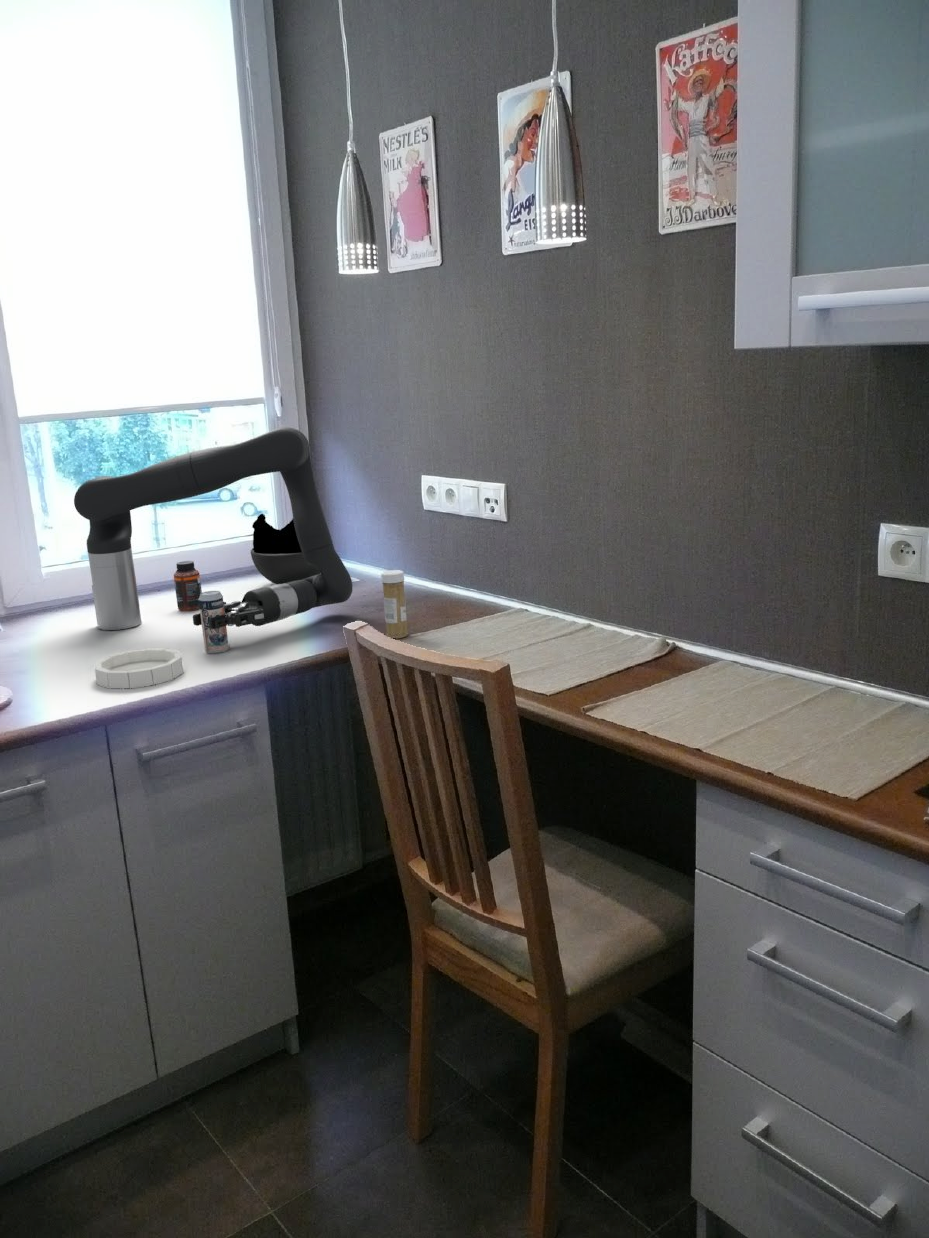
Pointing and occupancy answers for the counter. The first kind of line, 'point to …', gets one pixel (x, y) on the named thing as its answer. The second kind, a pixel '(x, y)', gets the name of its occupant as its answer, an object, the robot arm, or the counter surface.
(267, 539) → the coal bowl
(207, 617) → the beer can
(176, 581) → the supplement bottle
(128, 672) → the white segmented ring
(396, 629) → the sprinkles bottle
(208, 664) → the counter surface
